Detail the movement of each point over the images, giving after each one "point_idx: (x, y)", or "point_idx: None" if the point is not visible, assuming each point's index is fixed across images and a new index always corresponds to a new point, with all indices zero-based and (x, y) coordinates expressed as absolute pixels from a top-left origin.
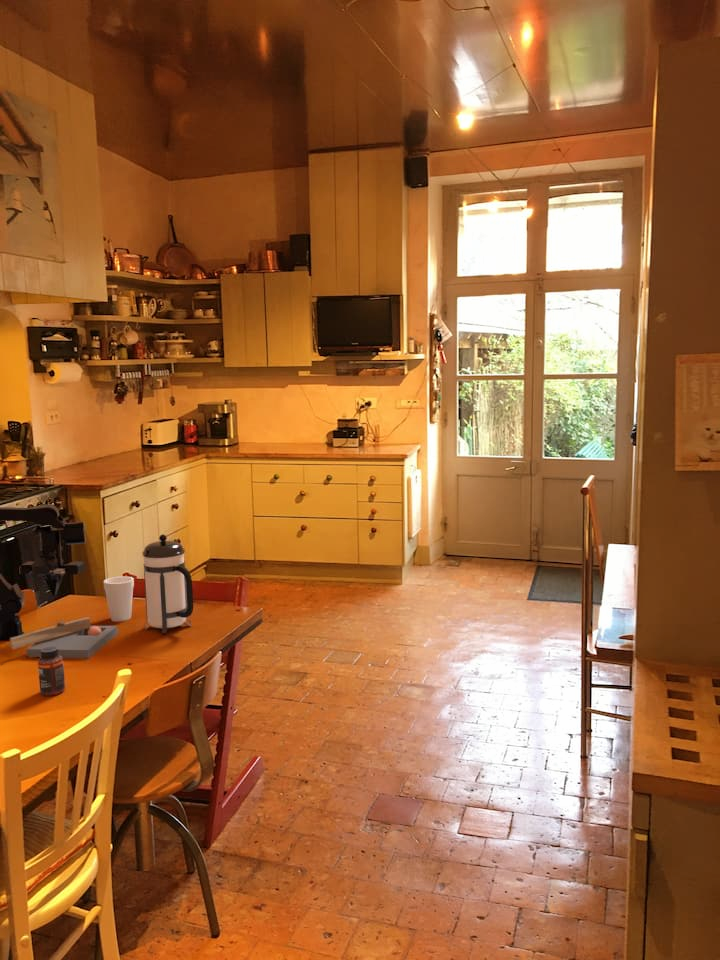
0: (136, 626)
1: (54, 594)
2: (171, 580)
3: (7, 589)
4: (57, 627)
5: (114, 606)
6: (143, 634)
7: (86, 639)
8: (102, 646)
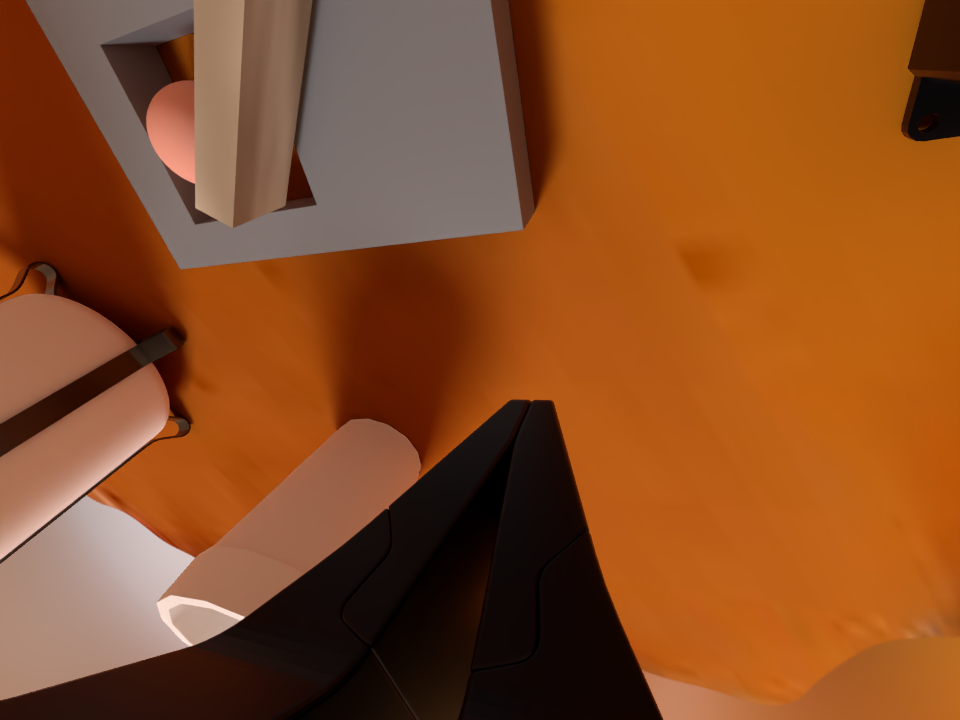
0: (235, 359)
1: (512, 402)
2: None
3: None
4: None
5: (319, 471)
6: (115, 259)
7: None
8: None
